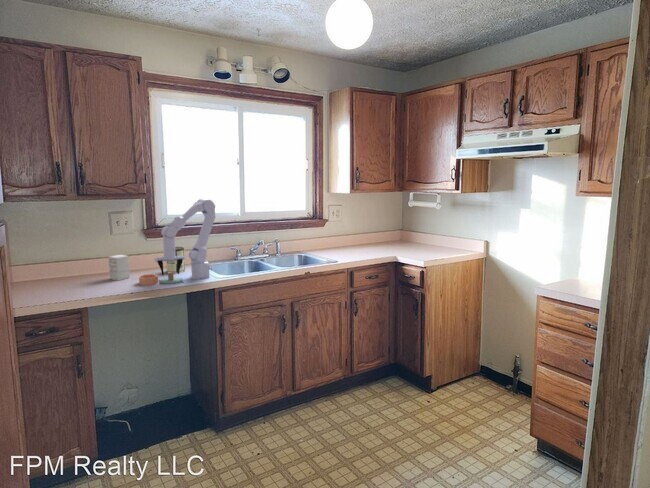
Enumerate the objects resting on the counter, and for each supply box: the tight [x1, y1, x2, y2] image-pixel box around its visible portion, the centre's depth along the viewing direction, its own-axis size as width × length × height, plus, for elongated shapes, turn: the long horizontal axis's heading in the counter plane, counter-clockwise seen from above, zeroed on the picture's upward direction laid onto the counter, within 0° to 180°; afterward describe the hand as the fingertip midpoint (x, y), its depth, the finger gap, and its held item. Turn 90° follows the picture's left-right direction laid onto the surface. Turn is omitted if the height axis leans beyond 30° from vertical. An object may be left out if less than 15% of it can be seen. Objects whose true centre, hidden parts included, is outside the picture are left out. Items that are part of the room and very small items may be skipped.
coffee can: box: [165, 246, 186, 274], centre depth 251 cm, size 10×10×14 cm
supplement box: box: [107, 254, 130, 281], centre depth 233 cm, size 7×7×13 cm
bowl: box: [138, 273, 159, 286], centre depth 223 cm, size 9×9×4 cm
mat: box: [158, 277, 185, 286], centre depth 227 cm, size 12×12×1 cm
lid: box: [159, 272, 183, 285], centre depth 227 cm, size 11×11×5 cm
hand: (170, 274), depth 226 cm, fingers open, 7 cm apart
